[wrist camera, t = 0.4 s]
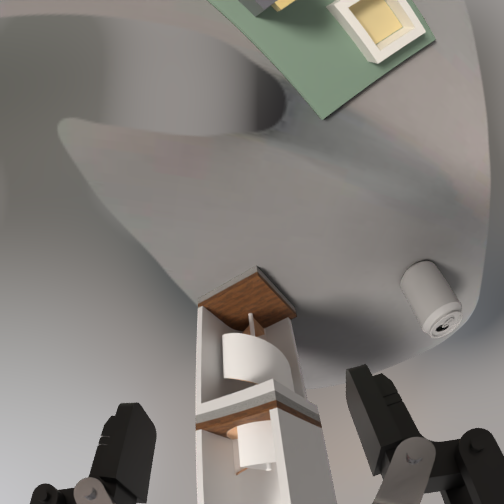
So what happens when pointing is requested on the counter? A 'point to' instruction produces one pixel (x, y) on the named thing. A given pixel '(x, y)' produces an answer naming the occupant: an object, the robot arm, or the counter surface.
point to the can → (431, 299)
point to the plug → (264, 5)
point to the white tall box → (254, 402)
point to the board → (332, 43)
